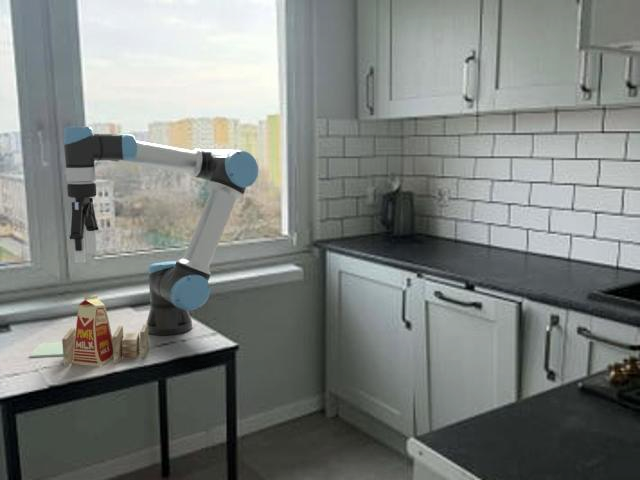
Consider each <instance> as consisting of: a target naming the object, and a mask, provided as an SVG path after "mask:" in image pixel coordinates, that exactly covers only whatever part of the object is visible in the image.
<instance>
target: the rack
mask: <svg viewBox="0 0 640 480" xmlns="http://www.w3.org/2000/svg"><path fill="white" fill-rule="evenodd" d="M75 333H76V327H71V328H70V329H69V330H68V332H66V334H65V335H64V336H63V337H62V339H61V340H62V341H61V342H62V344H63V356H62V357H63V366H64V367H69V366H70V365H71V364H72V361H73V351H74V342H75ZM123 337H124V326H123V325H118V326H117V328H116V330H115V332H114V333H113V335H112V339H113V354H114V357H113V363H114V364H119V362H120V361H121V359H122V358H123V356H122V346H123V345H122V339H123ZM139 338H140V352H141V353H140V354H141V359H146V358H147V355H148V354H147V353H149V350H150V347H149V345H150V342H149V333H148V325H146V324H143V325H142V326H141V330H140V333H139Z"/></svg>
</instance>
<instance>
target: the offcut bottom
mask: <svg viewBox="0 0 640 480" xmlns="http://www.w3.org/2000/svg"><path fill="white" fill-rule="evenodd" d="M139 351H140V352H141V345H140V346H139V348H138V350H137V352H132V353H122V359H123V358H124V359H137V357H138V356H139V354H140V352H139Z"/></svg>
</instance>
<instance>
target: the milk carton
mask: <svg viewBox="0 0 640 480" xmlns="http://www.w3.org/2000/svg"><path fill="white" fill-rule="evenodd" d="M83 298H84V300H83V301H81V303H79V305H78V310H77V315H76V316H77V318H76V327H75V330H76V333H75V342H74V351H73V360H72V362H71V364H72V365H73V364H74V365H83V366H91V367H102V366H104V365H105V364H107V363H108V362H109V361H110V360H112V359H114V354H113V339H112V337H113V335H112V330H111V329H112V328H111V325H110V320H109V316H108V312H107V308H106V305H105V304H104V303H103V302H102V301H101V300H100V299H99V298H98V294H95V295H91V296H89V295H84V296H83Z"/></svg>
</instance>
